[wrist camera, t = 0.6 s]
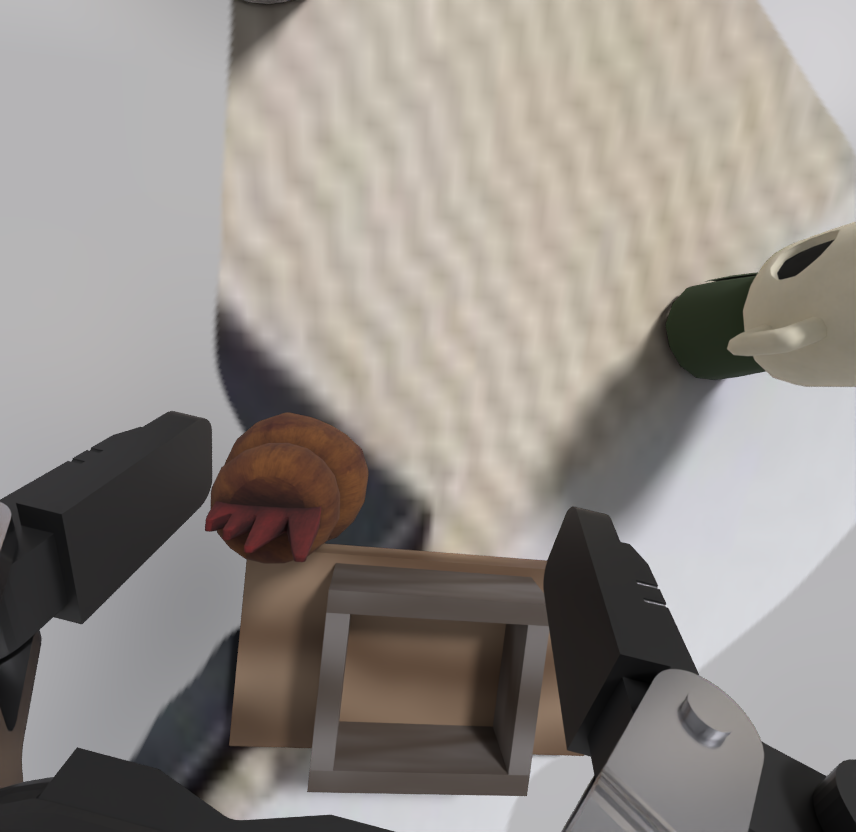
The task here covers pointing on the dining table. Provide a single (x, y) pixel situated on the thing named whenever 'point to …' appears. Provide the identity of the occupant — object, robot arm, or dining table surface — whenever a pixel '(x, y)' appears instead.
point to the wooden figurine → (287, 489)
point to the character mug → (776, 317)
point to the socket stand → (400, 670)
